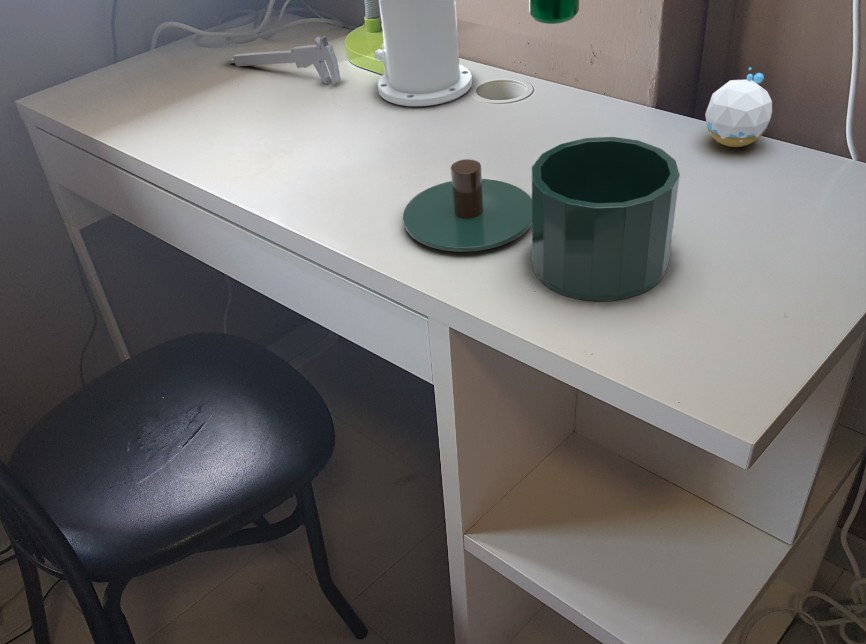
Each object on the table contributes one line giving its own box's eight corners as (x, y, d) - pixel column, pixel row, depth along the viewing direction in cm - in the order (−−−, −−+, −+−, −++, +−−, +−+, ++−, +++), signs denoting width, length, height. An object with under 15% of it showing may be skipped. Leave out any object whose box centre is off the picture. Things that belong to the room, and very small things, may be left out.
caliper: (341, 83, 116) (334, 36, 111) (336, 86, 115) (329, 39, 111) (233, 62, 125) (222, 18, 120) (228, 65, 124) (217, 20, 120)
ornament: (749, 164, 91) (763, 92, 86) (689, 148, 95) (699, 78, 89) (777, 139, 95) (791, 68, 89) (718, 125, 98) (728, 56, 93)
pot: (505, 264, 81) (502, 174, 74) (592, 212, 86) (596, 124, 80) (606, 319, 73) (613, 224, 67) (694, 258, 79) (708, 165, 73)
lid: (377, 223, 88) (369, 170, 84) (472, 175, 94) (469, 123, 90) (465, 273, 80) (462, 217, 76) (562, 216, 86) (564, 161, 82)
